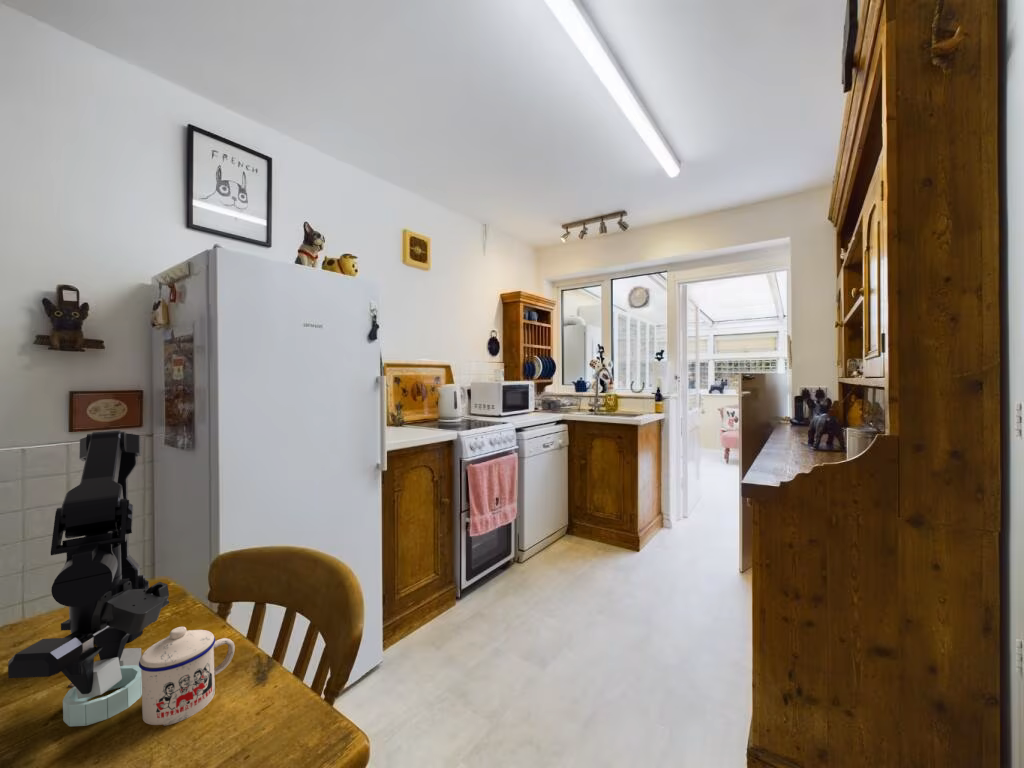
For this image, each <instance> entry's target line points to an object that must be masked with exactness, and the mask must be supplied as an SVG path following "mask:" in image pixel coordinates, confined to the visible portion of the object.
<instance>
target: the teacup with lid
mask: <svg viewBox="0 0 1024 768" xmlns="http://www.w3.org/2000/svg"><path fill="white" fill-rule="evenodd" d="M223 645H227V648H228V649H227V653H226V656H225V658H224V659H223V661H222V662H221V663H220V664H218V665H217V666H216V667H215V650H214V649H216V648H218V647H220V646H223ZM235 649H236V647H235V642H234V640H233V641H232V639H230V638H227V637H223V638H220V639H217V640H216V637H215V635H214V634H213V632H211V631H209V630H205V629H192V630H191V629H190V630H187V627H185V626H178V627H175V628H173V629H172V630H171V631H170V632H169V635H168V636H166V637H165V638H163V639H160V640H159V641H157V642H155V643H154V644H152V645H150V646H149V647H148V648H147V649H146V650H145V651H144V652H143V653H142V654H141V658H140V661H139V667H140V668H141V679H142V696H141V704H142V705H141V712H142V720H143V722H144V723H146V724H147V725H152V726H160V725H162V727H165V726H170V725H173V724H177V723H179V722H182V721H184V720H186V719H189V718H191V717H192V716H194V715H196V714H197V713H199V712H200V711H202V710H203V709H204V708H205V707H207V706H208V705H209V704H210V702H212V700H213V699H214V696H215V692H216V685H215V683H216V680H215V676H216V675H218V674H220V673H221V672H222V671H224V670H225V669H226V668H227V667H228V665H230V663H231V662H232V660H233V658H234V655H235Z"/></svg>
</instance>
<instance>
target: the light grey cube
mask: <svg viewBox="0 0 1024 768" xmlns="http://www.w3.org/2000/svg"><path fill="white" fill-rule="evenodd" d="M121 679H122V675H121V669H120V664H119V658H118V657H115V658H110V659H104V660H100V659H99V660H96V661H94V669H93V685H92V691H91V692H90V693H89V694H81V693H80V691H79V690H78V689H77V688H76V691H77V697H78V699H81V698H86V697H92V696H95V697H98V696H101V695H103V694H104V693H106V692H108V691H107V690H108V689H109V688H111V687H112V686H113V685H115V684H116V683H117V682H119V681H120V680H121ZM105 691H106V692H105Z"/></svg>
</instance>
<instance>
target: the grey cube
mask: <svg viewBox="0 0 1024 768" xmlns="http://www.w3.org/2000/svg"><path fill="white" fill-rule="evenodd" d="M141 656H142V648H141V647H134V648H133V647H132V648H131V647H130V648H129V647H128V648H126V647H124V650H123V653H122V656H121V658H120V661H119V664H120V666H129V665H138V666H139V661H140V658H141Z"/></svg>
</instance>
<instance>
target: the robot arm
mask: <svg viewBox="0 0 1024 768" xmlns="http://www.w3.org/2000/svg"><path fill="white" fill-rule="evenodd" d="M142 446H143V443H142V438H141V436H140V435H139V434H135V433H133V432H132V433H127V432H126V431H121V430H105V431H103V430H102V431H93V432H91V433H87V435H86V436H85V437H83V438H80V439H79V453H78V455H79V460H80V461H82V462H84V466H83V471H82V473H81V474H82V475H81V478H80V482H79V484H78V485H77V486H75V487H73V488H72V489H70V490H69V491H67V492H66V493H65V496H64V498H63V501H62V505H61V507H57V508H56V510H55V514H54V522H53V531H52V537H51V546H50V556H55V555H60V554H61V555H62V554H66V561H65V563H64V565H63V567H62V568H61V570H60V571H59V572H58V574H57V576H56V577H55V579H54V581H53V583H52V585H51V595H52V598H53V599H54V601H55V602H56V603H58V604H60V605H62V606H64V607H68V615H69V618H68V619H67V620H64V621H63V622H61V623H60V631H70V634H68V635H66V636H65V637H59V638H58V637H57V638H51V637H50V638H42V639H40V640H38V641H36V642H35V643H33V644H31V645H30V646H28V647H26V648H24V649H22V650H21V651H19V652H17V653H15V654H13V656H12V657H11V658H10V659H9V660H8V664H7V674H8V675H7V677H8V679H21V678H22V679H23V678H25V679H26V678H47V677H48V678H49V677H51V676H54V675H57V674H60V672H61V673H62V674H63V675H64V676H65V677H66V678H67V679H68V680H69V682H70V683H72V684H73V685H74V686H75V687H76V688H77V689H78V690H79V691H80V693H81V694H89V693H90V692H91V691H92V685H93V669H94V662H95V661H94V659H95V657H96V656H97V655H98V657H99V660H104V659H110V658H115V657H118V658H119V661H120V658H121V656H122V653H123V650H124V649H125V648H126V647H125V646H126V644H128V643H131V642H133V641H135V640H136V639H137V638H139V637H140V636H142V635H143V633H144V632H143V631H144V629H145V628H147V627H148V626H150V625H151V624H154V623H156V622H157V621H158V620H159V616H160V613H161V610H162V609H163V608H165V607H166V606H168V605H169V604H170V600H169V596H170V593H169V586H168V583H165V582H161V581H158V582H157V583H154V584H152V585H151V586H150V583H149V580H147V579H146V577H145V574H141V571H140V570H141V567H140V564H139V563H138V562H137V561H136V560H135V559H134V557H133V556H132V555H130V538H129V537H130V536H129V535H130V534H133V524H134V523H133V521H134V504H132V503H130V499H129V485H128V484H129V481H128V480H129V478H130V476H131V475H132V473H133V472H134V470H136V468H137V466H138V461H139V459H138V458H139V457H142V456H143V455H142V453H143V450H142V448H143V447H142ZM64 532H65V533H64ZM63 535H64V538H65V539H64V540H63ZM95 645H96V646H95Z"/></svg>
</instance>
